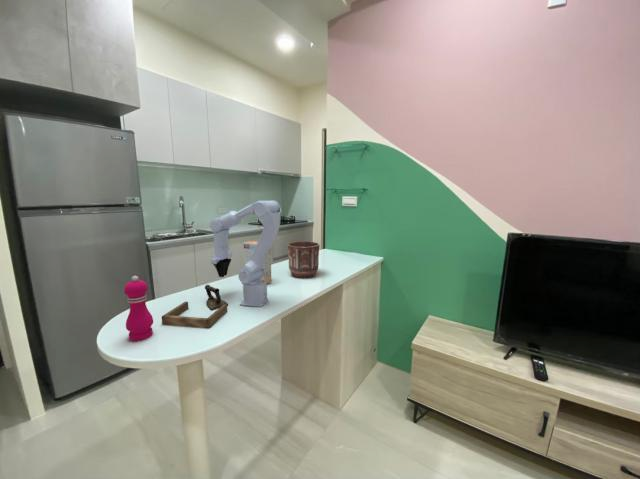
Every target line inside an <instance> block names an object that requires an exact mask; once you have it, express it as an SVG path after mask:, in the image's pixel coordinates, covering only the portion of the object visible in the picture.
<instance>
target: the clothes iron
mask: <svg viewBox="0 0 640 479" xmlns="http://www.w3.org/2000/svg"><path fill="white" fill-rule="evenodd" d="M204 289H205V292H206V295H207V297H208V298H207V300H206V304H205V305H206V307H207V308H208V309H209V310H210V311H211V312H212V311H217V310H218V309H219V308H220V307H221V306H222V305H224V304H227V307H229V303H228V302H227V301H225V300H223V299H222V298H221V297H222V296H221V294H220V289H219V288H218V287H217V288H215V287H213V286H211V285H210V284H206V285H205V286H204ZM212 293H213V294H215V297H214V295H212Z"/></svg>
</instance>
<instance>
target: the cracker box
mask: <svg viewBox="0 0 640 479" xmlns="http://www.w3.org/2000/svg"><path fill="white" fill-rule="evenodd" d="M257 243H258V241H253V240H249V241H244V242H243V262H244V264H243V265H245V264H246V263H248V262H249V261H250V259H251V257H252V254H253V252H254V250H255V247H256V245H257ZM263 264H264V265H265V268H264V275H263V277H262V278H261V282H263V283H266V284H267V285H269V284H271V283H272V247H271V248H270V250H269V252H268V254H267V256H266V259H265V261H264V263H263Z"/></svg>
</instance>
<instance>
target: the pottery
mask: <svg viewBox="0 0 640 479" xmlns="http://www.w3.org/2000/svg"><path fill="white" fill-rule="evenodd" d="M286 246H287V253H288V254H287V255H288V269H289V271H290V273H291V275H292V276H294V277H295V278H297V279H299V278H300V279H307V278H312V276H313V277H314V276H315V275H316V274H317V273H318V270H319V265H320V264H319V263H320V262H319V257H320V256H319V255H320V243H319V242H315V241H292V242H289V243H287V245H286Z"/></svg>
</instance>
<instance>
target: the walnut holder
mask: <svg viewBox="0 0 640 479" xmlns="http://www.w3.org/2000/svg"><path fill="white" fill-rule="evenodd" d="M188 310H189V301H183V302H182V303H181V304H179V305H177V306H175V308H172V309H171V310H169V311H168V312H167V313H165V314H163V315H162V316H161V324H162V325H163V326H174V327H175V326H177V327H189V328H201V329H210V328H212V326H214V324H215V323H217V322H218V321H219V320H220V319H221V318H222V317H223V316H224V315H225V314H226V313H227V312H228V306H227V304H224V305H222V306H221V307H220V308H219V309H216V310H214V312H213V313H212V314H210V315H209V316H208V317H198V316H197V317H196V316H195V317H194V316H182V314H183V313H185V312H186V311H188Z"/></svg>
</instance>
